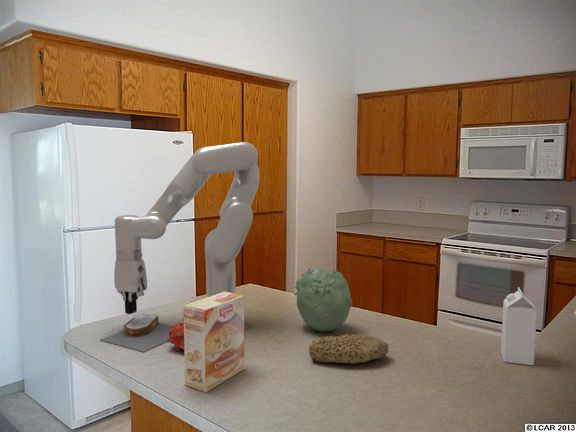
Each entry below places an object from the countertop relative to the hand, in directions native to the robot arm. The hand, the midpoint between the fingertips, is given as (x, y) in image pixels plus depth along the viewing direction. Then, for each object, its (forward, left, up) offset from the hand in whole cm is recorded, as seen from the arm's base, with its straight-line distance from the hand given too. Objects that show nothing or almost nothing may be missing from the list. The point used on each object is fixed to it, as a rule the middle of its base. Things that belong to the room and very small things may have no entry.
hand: (131, 312), depth 143 cm
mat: (-7, 0, -6) cm, 9 cm away
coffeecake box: (-43, +12, -6) cm, 45 cm away
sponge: (-68, -14, -6) cm, 69 cm away
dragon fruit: (-25, +2, -6) cm, 26 cm away
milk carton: (-107, -36, -6) cm, 113 cm away
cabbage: (-52, -31, -6) cm, 61 cm away
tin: (+2, -1, -4) cm, 5 cm away
